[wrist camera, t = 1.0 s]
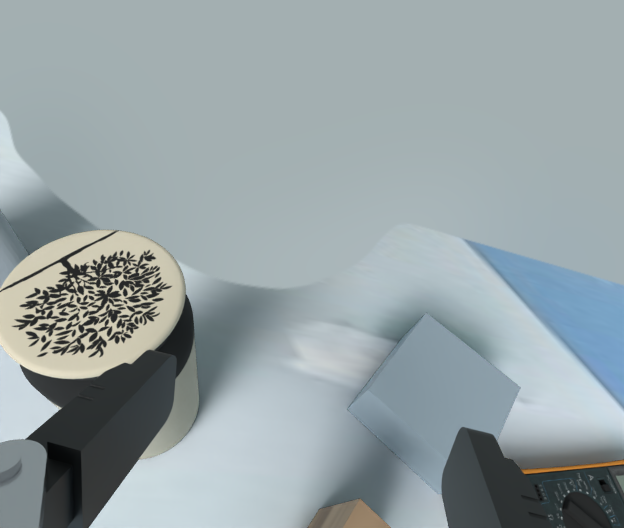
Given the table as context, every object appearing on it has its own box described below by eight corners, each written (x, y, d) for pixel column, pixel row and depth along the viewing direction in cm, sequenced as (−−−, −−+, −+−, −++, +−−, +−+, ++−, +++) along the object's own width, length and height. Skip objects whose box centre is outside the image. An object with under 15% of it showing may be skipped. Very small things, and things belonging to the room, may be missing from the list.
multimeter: (460, 477, 33) (482, 471, 30) (618, 461, 37) (651, 455, 35) (496, 607, 28) (527, 614, 25) (675, 572, 32) (717, 575, 30)
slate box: (346, 409, 34) (368, 389, 30) (400, 339, 40) (426, 312, 35) (436, 494, 32) (476, 486, 27) (481, 406, 37) (520, 387, 33)
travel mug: (217, 414, 31) (224, 313, 17) (123, 485, 27) (28, 427, 13) (168, 342, 34) (139, 203, 20) (75, 396, 30) (-46, 269, 16)
